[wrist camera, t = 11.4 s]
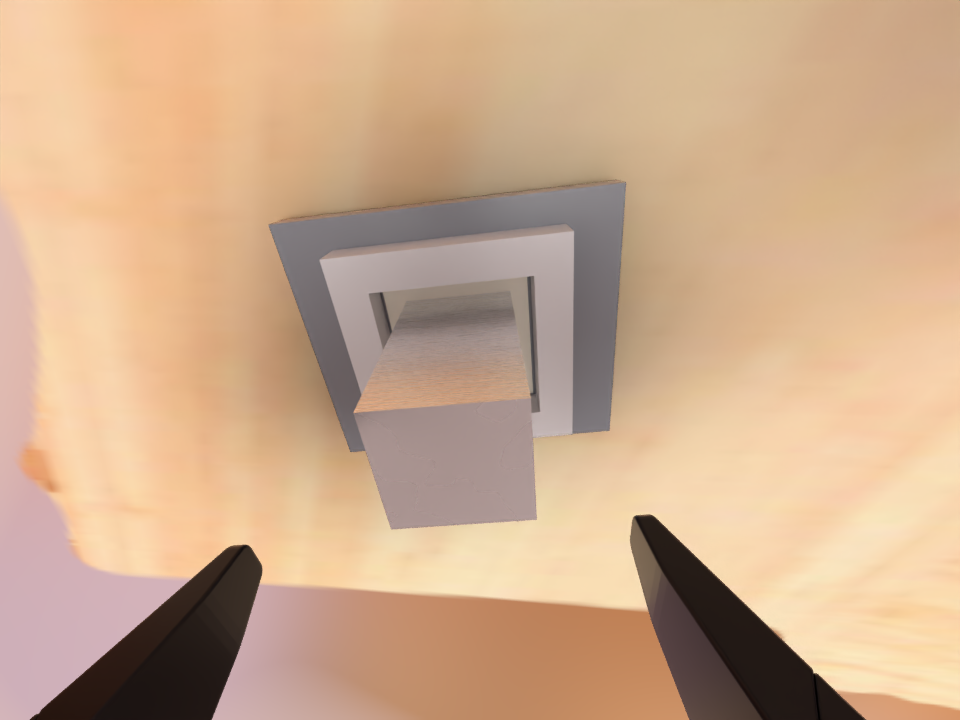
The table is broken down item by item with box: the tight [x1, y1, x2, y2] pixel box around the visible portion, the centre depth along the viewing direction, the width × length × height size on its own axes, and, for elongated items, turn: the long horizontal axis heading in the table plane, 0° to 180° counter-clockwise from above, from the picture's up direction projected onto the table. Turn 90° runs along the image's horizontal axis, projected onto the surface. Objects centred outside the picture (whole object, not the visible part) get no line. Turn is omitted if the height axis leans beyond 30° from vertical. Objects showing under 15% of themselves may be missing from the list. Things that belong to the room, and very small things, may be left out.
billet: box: [353, 291, 537, 529], centre depth 14 cm, size 4×4×8 cm
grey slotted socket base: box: [269, 180, 626, 452], centre depth 18 cm, size 14×12×3 cm
